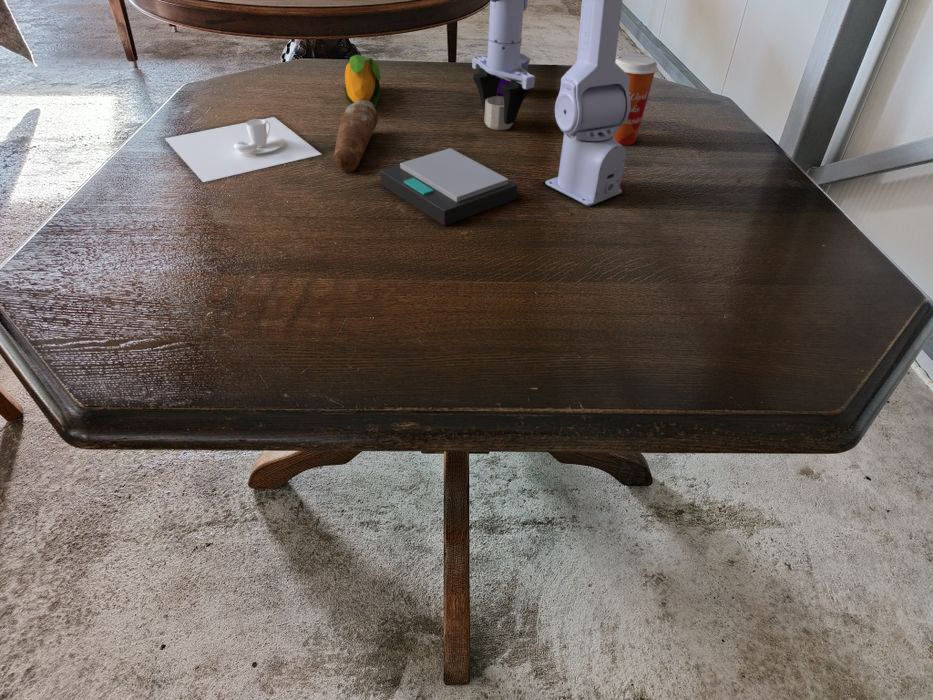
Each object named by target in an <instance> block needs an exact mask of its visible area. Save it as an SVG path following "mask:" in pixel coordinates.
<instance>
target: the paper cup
mask: <svg viewBox="0 0 933 700" xmlns="http://www.w3.org/2000/svg"><path fill="white" fill-rule="evenodd" d="M615 63H616V64H617V65H618V66H619V67H620V68H621V69H622V70H623V71H625V72H626V74H627V75H628V76H629V77H630V81H629V96H630V103H631V105H630V112H629V116H628V118H627V120H626V122H625V123H624V124H623V125H622V126H620V127H618V132H617V134H614V135H613V137H614V139H615V140H616V141H617V142H618V143H619V144H621V145H622V146H630V145H633V144H635V142H636V140H637V137H638V134H639V130H640V127H641V123H642V120H643V117H644V113H645V109H646V105H647V102H648V98H649V94H650V91H651V88H652V83H653V80H654V76H655V73H656V72H658V71H659V67H658V63H657V61H656V59H655V58H654V57H652V56H650V55H647V54H644V53H643V54H642V53H635V52H634V53H633V52H625V53H620V54H618V55H616V60H615Z"/></svg>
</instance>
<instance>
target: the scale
mask: <svg viewBox="0 0 933 700" xmlns="http://www.w3.org/2000/svg"><path fill="white" fill-rule="evenodd" d="M380 185H381V186H382V187H383V188H386V189H387V190H388V191H390V192H391V193H393V194H394V195H396V196H397V197H398V198H401V199H402V200H403V201H405V202H406V203H408V204H410V205H411V206H413V207H414V208H416V209H417V210H419V211H420V212H422V213H423V214H425V215H426V216H428V217H430V218H431V219H434V221H436V222H438V223H439V224H440V225H442V226H443V227H447V226H449V225H451V224H454V223H457V222H459V221H462V220H464V219H466V218H470V217H472V216H475V215H479V214H480V213H483V212H486V211H488V210H491V209H493V208H497V207H499V206H502V205H504V204H507V203H510V202H513V201H515V200H517V195H518V194H517V193H518V184H517V183H515V182H513V181H511V180H509V178H507V177H506V176H504V175H502V174H499V173H498V172H496V171H494V170H492V169H490V168H489V167H487V166H485V165H483V164H481V163H479V162H477V161H476V160H474V159H471V158H470V157H468V156H466V155H464V154H462V153H460V152H458V151H457V150H455V149H453V148H451V147H449V148H446V149H443V150H439V151H436V152H433V153H429V154H426V155H423V156H420V157H416V158H412V159H410V160H406V161H402V162H400V163H399V164H398V165H395V166H391V167H388V168H385V169H382V170H380Z"/></svg>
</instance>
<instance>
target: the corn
mask: <svg viewBox="0 0 933 700" xmlns="http://www.w3.org/2000/svg"><path fill="white" fill-rule="evenodd" d="M366 58H367V57H366V56H365V55H361V54H354V55H352V56H350V57H349V62H348V63H347V64H346V66H345V70H344V83H345V84H344V93H345V97H346V99H347V101H348V102H349V103H350V104H353V103H355V102H357V101H358V100H365V101H370V102H371V103H372V104H373V105H374V108H375V109H376V108H377V104H378V101H379V99H380V95H381V86H380V80H381V78H382V77H381V71H380V66H379V64H378V63H376V61H375V60H374V58H372V57H369V58H367V59H366Z"/></svg>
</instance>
